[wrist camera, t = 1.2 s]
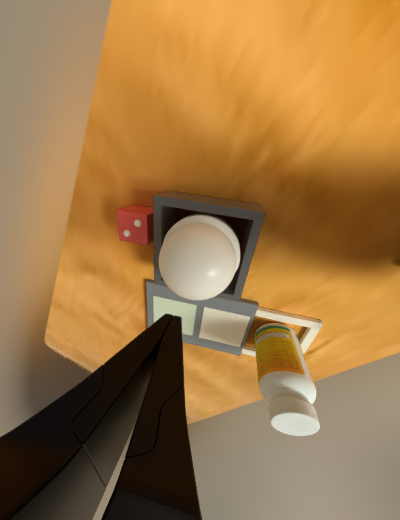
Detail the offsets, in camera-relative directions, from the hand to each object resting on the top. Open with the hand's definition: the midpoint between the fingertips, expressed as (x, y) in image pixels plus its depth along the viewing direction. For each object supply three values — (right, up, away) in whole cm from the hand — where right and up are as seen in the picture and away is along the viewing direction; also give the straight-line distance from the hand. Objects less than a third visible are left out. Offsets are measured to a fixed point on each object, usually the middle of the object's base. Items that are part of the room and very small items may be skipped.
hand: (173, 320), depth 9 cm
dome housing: (0, +6, +11) cm, 12 cm away
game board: (+5, -6, +16) cm, 17 cm away
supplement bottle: (+11, -7, +15) cm, 20 cm away
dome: (+2, +4, +9) cm, 10 cm away
